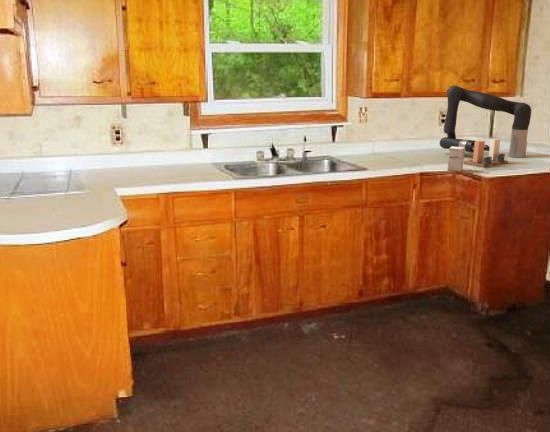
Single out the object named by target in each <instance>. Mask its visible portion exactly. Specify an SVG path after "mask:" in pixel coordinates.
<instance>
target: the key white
mask: <svg viewBox="0 0 550 432" xmlns="http://www.w3.org/2000/svg"><path fill="white" fill-rule="evenodd" d="M500 145H501V138H490V140H489V147H490V149H489V151H488V157H492V160H495V154H500Z"/></svg>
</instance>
